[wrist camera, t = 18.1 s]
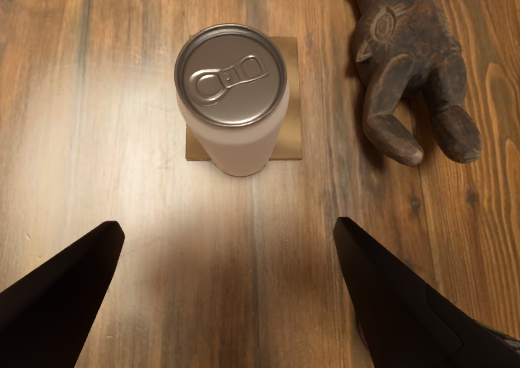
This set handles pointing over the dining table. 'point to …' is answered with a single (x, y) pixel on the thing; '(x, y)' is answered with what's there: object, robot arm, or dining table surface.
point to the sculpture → (413, 78)
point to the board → (290, 131)
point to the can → (233, 95)
